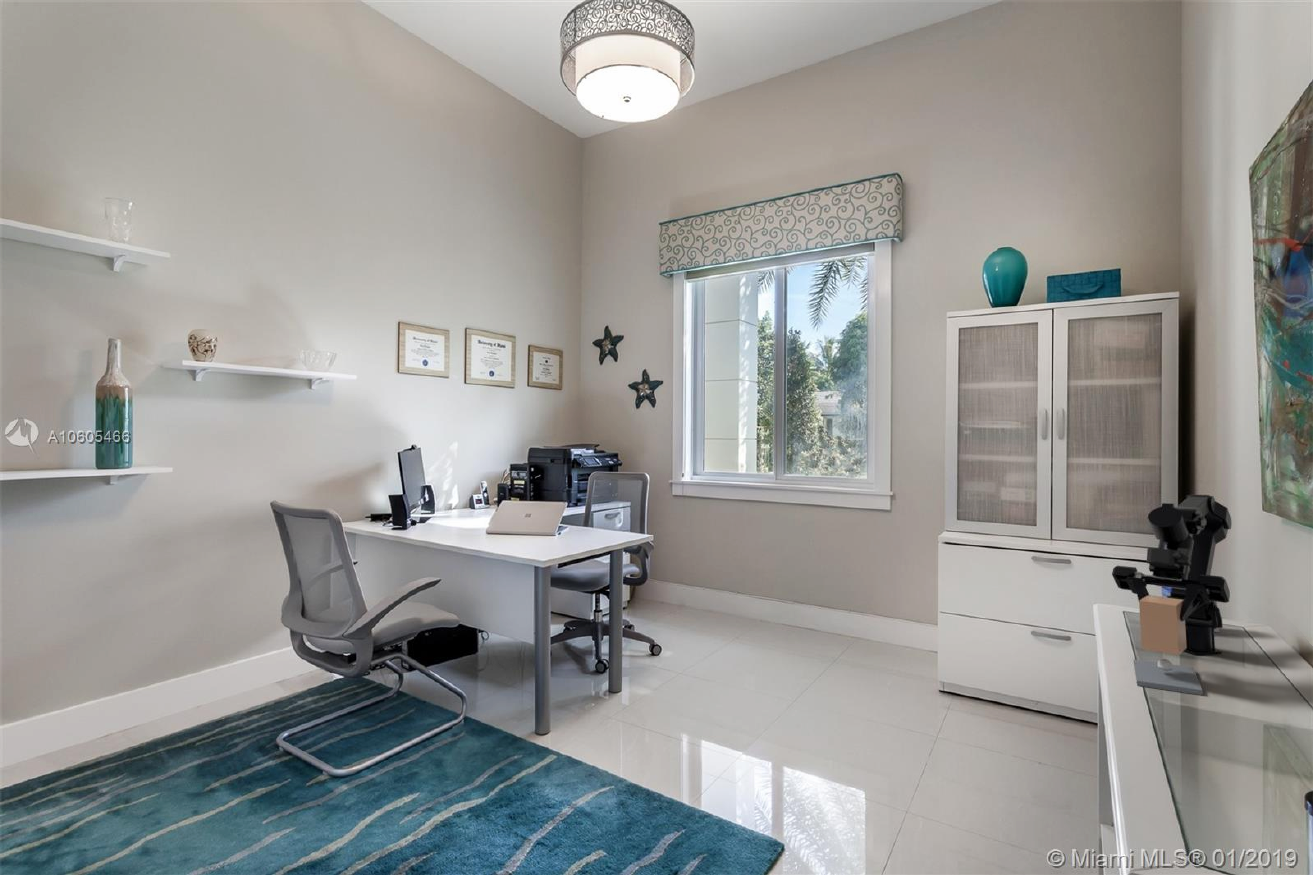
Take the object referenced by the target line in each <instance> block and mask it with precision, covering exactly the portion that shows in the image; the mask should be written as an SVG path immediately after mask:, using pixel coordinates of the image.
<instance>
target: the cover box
mask: <svg viewBox="0 0 1313 875" xmlns="http://www.w3.org/2000/svg"><path fill="white" fill-rule="evenodd" d="M1183 602H1184V600H1181V599H1173V598H1166V597H1162V596H1156V595H1152V594H1151V595H1150V594H1149V595H1147V596H1146V597H1144V598H1142V599H1141V600H1138V603H1139V604H1138V605H1139V608H1138V609H1139V622H1140V625H1139V626H1140V638H1141V649H1143V650H1148V651H1154V652H1158V653H1164V654H1170V655H1175V656H1180V655H1181V654H1182V653H1183V652H1185V651H1184V650H1185V649H1186V648H1187V646H1186V629H1185V620H1184V621H1181V620H1180V612H1181V608H1182V605H1183Z"/></svg>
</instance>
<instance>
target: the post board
mask: <svg viewBox="0 0 1313 875" xmlns="http://www.w3.org/2000/svg"><path fill="white" fill-rule="evenodd" d="M1133 667H1134V668H1133V669H1134V674H1135V681H1136V686H1137V685H1139V686H1138V687H1144V688H1151V689H1158V690H1165V691H1171V692H1177V693H1185V694H1191V695H1197V696H1203V688H1202V686H1201V684H1200V681H1199V679H1198V677H1197V674H1196V671H1195V668H1194V667H1193V666H1188V665H1179V664H1173V663H1172V662H1171V660H1168V658H1167V659H1166V658H1160V659H1159V660H1158V661H1151V660H1142V659H1136V658H1135V659H1134V658H1133Z"/></svg>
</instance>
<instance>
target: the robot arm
mask: <svg viewBox="0 0 1313 875" xmlns="http://www.w3.org/2000/svg"><path fill="white" fill-rule="evenodd" d="M1147 519H1148V522H1149V524H1150V527H1151V529H1152V532H1153V534H1154V537H1155V539H1157V540H1159V542H1158V547H1148V548H1147V553H1146V554H1147V555H1146V563H1147V564H1148V570H1149V572H1151V573H1152V574H1145V573H1142V572H1141V571H1138V569H1137V567H1135V566H1126V565H1116V566H1115V567H1113V568H1112V572H1111V576H1112V577H1113V580H1114V582H1115V584H1116V585H1117V588H1118V589H1121V590H1126V591H1131V593H1133V594H1135V595H1137V600H1138V601H1139V600H1141V599H1142V598H1144V597H1146V596H1147V595H1150V593H1149V591H1148V589H1147V586H1148V585H1150V586H1152V585H1153V586H1156V587H1161V588H1162V587H1170V588H1172V590H1171V593H1170V596H1167V598H1173V599H1181V600H1184V602H1183V605H1182V608H1181V612H1180V620H1181V621H1184V620H1185V629H1186V646H1187V648H1186V649H1185V650H1184V651H1183V652H1187V653H1189V654H1192V655H1196V656H1197V655H1198V656H1199V655H1214V654H1222V650H1220V649H1216V646H1215V644H1216V643H1215V632H1214V629H1217V628H1219V629H1222V628H1223V617H1222V613H1221V610H1220V608H1219V607H1218V603H1224V604H1226V603H1229V602H1230V597H1231V592H1230V591H1231V590H1230V589H1229V585H1228V583H1227V580H1226V578H1224V576H1219V575H1211V573H1212V567H1213V562H1214V557H1215V550H1216V545H1217V544H1218V543H1221V542H1222V541H1224V540H1225V539H1227V535H1228V532H1229V530H1231V529H1232V516H1231V514H1230V512H1229V509H1228V507H1227V506H1225V505H1224V504H1221V503H1219V502H1218V501H1216V499H1215V497H1214V496H1213V495H1210V494H1188V495H1185V499H1184V500H1183V501H1182V502H1181V503H1179V504H1178V505H1177V506H1175V504H1174V503H1168V502H1167V503H1166V502H1162V503H1161V506H1160V507H1159V506H1158V507H1156V508H1154V509H1153V510H1151V511H1150V512H1149V513H1148V515H1147ZM1214 601H1216V602H1217V604H1216V602H1214Z"/></svg>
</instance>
